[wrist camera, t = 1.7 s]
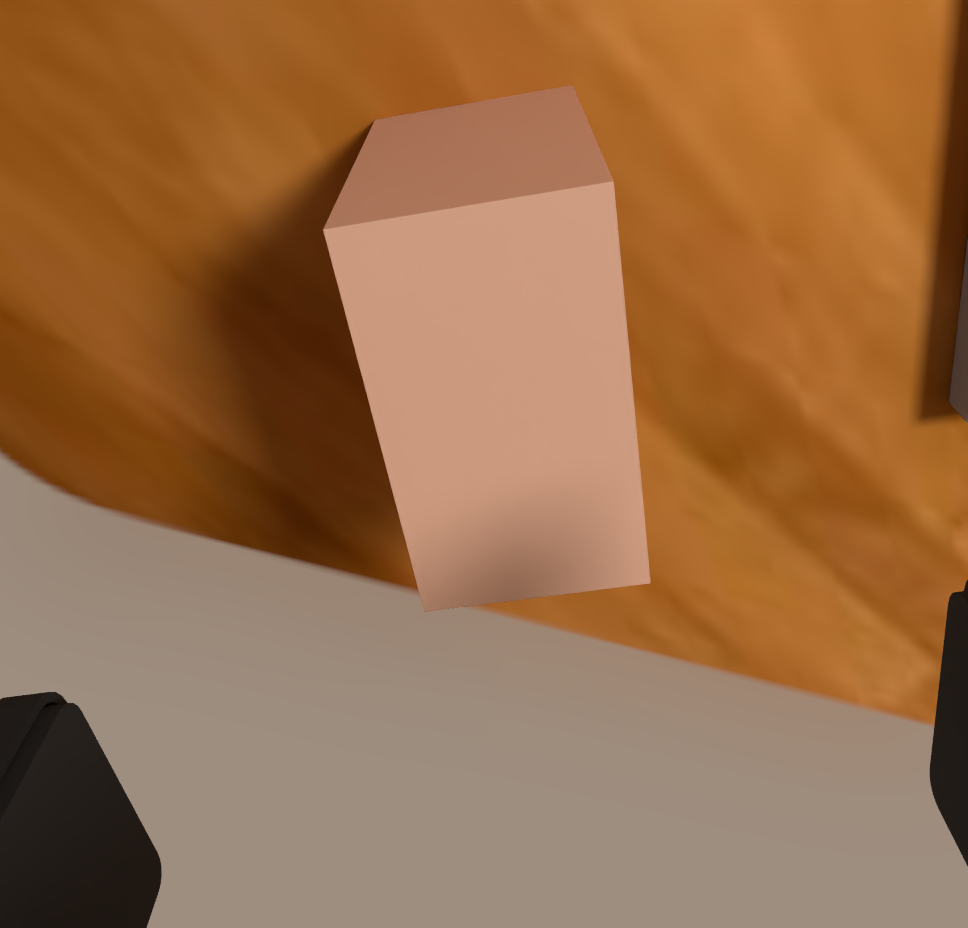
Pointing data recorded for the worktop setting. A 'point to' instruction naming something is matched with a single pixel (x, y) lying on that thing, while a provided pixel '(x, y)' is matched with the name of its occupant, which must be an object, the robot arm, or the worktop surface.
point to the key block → (496, 347)
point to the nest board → (961, 353)
